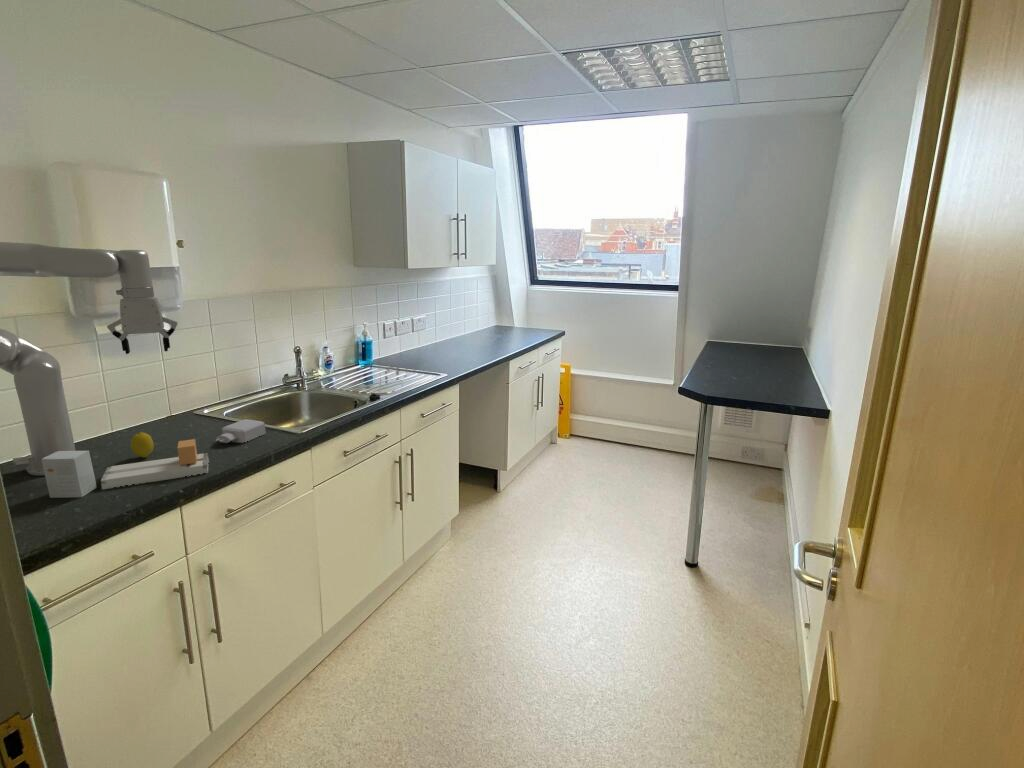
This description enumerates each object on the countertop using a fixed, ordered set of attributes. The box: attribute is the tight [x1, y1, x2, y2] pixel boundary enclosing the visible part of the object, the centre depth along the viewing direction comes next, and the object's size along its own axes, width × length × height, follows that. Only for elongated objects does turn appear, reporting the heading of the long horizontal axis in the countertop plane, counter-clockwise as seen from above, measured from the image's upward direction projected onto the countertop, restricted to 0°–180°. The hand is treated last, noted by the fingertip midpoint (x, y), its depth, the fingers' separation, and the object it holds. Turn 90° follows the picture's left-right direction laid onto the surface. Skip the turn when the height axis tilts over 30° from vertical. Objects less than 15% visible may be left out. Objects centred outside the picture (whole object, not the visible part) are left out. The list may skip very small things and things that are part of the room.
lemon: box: [130, 431, 155, 458], centre depth 162 cm, size 6×6×8 cm
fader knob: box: [176, 438, 198, 465], centre depth 154 cm, size 4×6×6 cm, turn 27°
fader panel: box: [100, 452, 210, 490], centre depth 152 cm, size 24×10×3 cm, turn 117°
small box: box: [41, 450, 98, 499], centre depth 139 cm, size 8×6×10 cm
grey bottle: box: [214, 418, 267, 444], centre depth 178 cm, size 5×9×15 cm
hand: (147, 351), depth 164 cm, fingers open, 9 cm apart
